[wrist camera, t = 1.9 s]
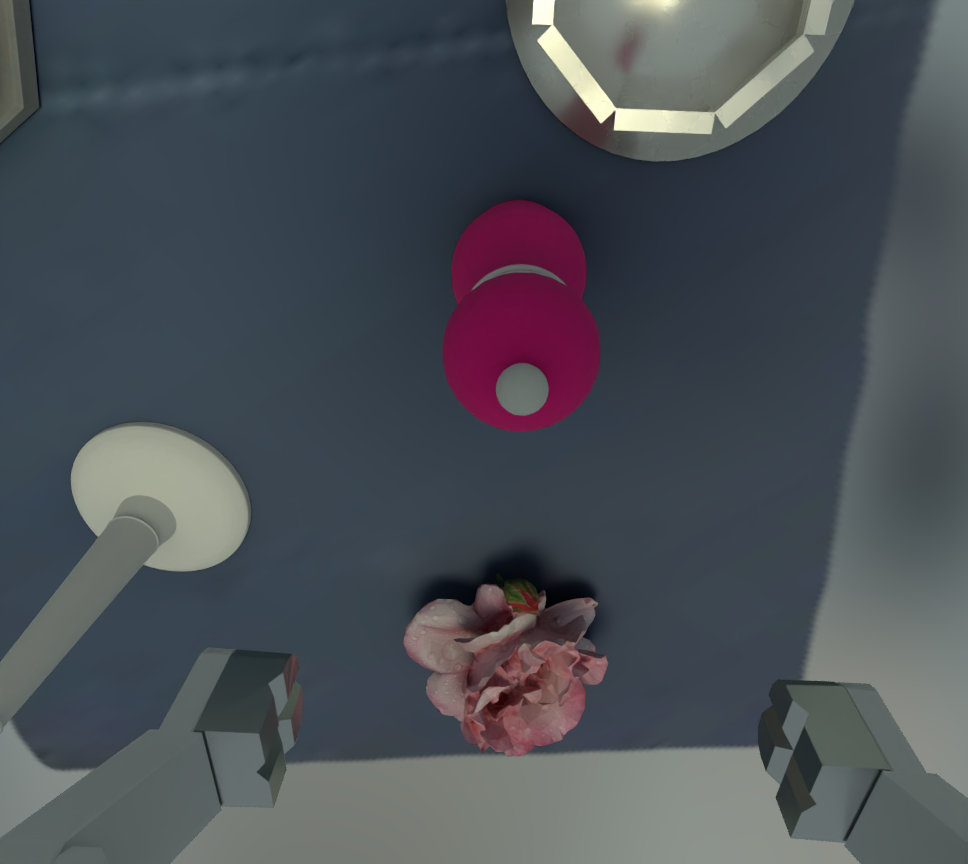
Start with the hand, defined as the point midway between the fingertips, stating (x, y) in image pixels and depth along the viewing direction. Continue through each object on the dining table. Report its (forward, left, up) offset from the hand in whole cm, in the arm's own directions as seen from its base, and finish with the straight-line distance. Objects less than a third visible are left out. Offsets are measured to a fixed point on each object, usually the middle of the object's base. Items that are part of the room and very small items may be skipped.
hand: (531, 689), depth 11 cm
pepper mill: (0, 0, -32) cm, 32 cm away
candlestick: (+19, -25, -32) cm, 45 cm away
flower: (+29, +1, -32) cm, 43 cm away
